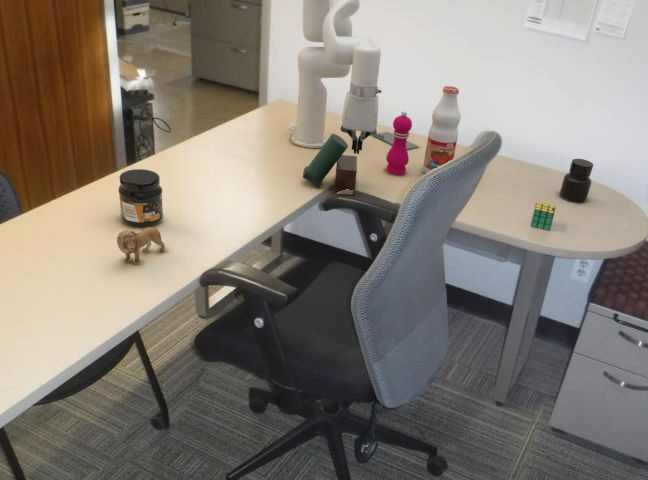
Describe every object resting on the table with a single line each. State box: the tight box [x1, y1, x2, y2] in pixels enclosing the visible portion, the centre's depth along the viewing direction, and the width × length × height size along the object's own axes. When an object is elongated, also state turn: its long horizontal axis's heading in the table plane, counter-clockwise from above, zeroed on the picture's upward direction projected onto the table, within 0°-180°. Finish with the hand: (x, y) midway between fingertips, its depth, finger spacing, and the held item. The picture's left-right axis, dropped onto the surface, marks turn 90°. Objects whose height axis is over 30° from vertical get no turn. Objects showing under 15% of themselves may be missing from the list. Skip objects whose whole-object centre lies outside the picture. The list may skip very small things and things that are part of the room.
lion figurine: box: [116, 226, 166, 265], centre depth 167 cm, size 15×5×9 cm, turn 159°
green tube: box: [302, 133, 349, 189], centre depth 214 cm, size 13×6×16 cm, turn 91°
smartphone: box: [372, 131, 419, 150], centre depth 259 cm, size 8×1×16 cm
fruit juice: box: [422, 85, 462, 175], centre depth 231 cm, size 9×9×28 cm
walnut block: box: [333, 154, 358, 195], centre depth 217 cm, size 6×12×8 cm, turn 1°
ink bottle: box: [559, 158, 594, 203], centre depth 232 cm, size 10×9×12 cm
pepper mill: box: [385, 110, 413, 176], centre depth 229 cm, size 7×7×20 cm
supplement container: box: [117, 168, 164, 228], centre depth 182 cm, size 10×10×12 cm
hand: (356, 152), depth 213 cm, fingers closed
